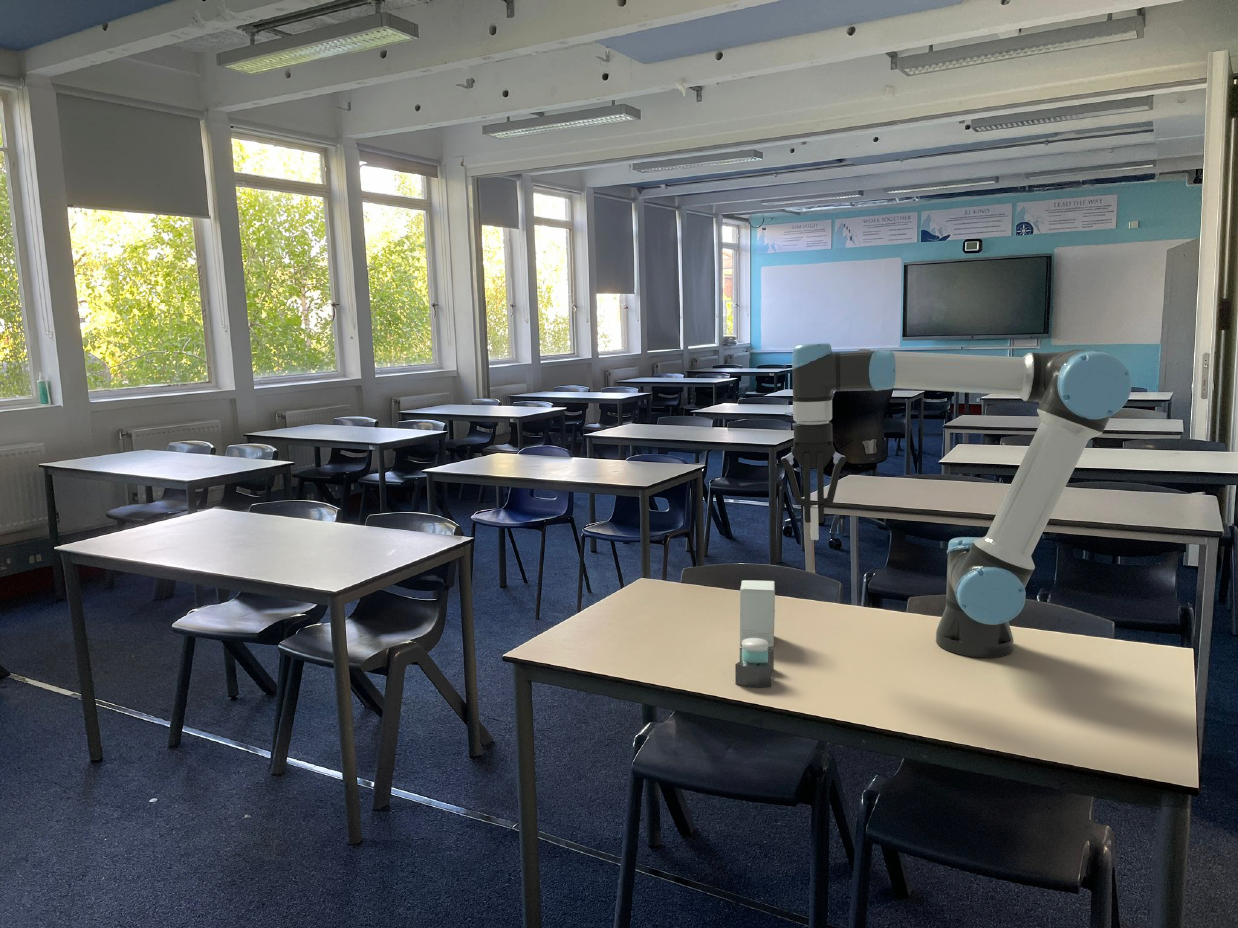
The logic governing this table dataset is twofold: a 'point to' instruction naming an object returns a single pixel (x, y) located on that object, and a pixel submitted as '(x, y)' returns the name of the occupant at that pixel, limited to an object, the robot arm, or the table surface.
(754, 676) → the grey stepped block
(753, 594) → the supplement box
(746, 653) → the teal lidded jar
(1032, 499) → the robot arm
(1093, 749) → the table surface
